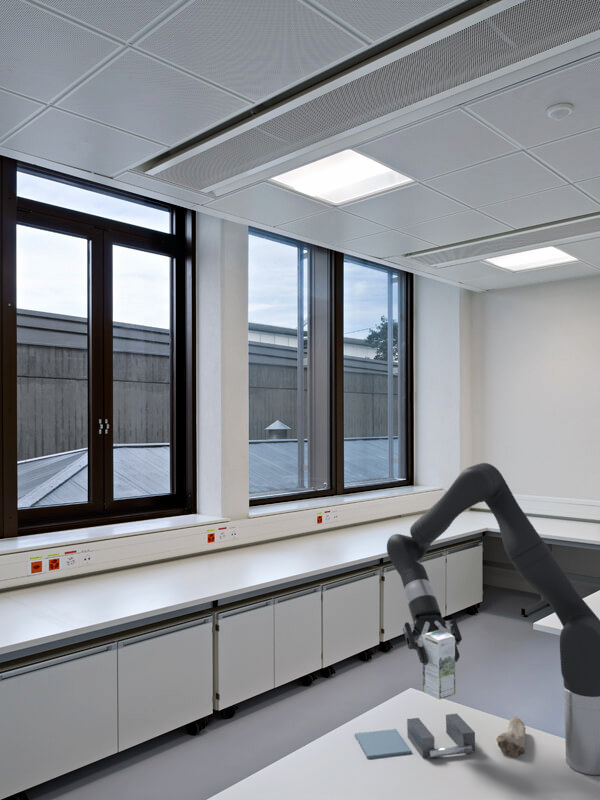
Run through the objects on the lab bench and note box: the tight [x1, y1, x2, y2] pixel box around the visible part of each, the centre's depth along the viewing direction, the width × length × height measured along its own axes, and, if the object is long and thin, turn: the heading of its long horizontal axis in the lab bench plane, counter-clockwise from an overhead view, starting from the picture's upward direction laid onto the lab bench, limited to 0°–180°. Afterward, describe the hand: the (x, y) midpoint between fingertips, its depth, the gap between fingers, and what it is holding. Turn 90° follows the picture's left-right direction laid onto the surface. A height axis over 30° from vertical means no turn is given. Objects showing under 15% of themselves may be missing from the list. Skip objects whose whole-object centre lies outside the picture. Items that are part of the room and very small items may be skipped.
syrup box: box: [422, 630, 456, 700], centre depth 156 cm, size 6×6×14 cm
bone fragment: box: [496, 716, 526, 758], centre depth 155 cm, size 14×6×5 cm, turn 148°
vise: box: [406, 713, 476, 759], centre depth 155 cm, size 13×12×4 cm
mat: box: [354, 728, 412, 760], centre depth 156 cm, size 11×11×1 cm
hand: (441, 662), depth 155 cm, fingers closed on syrup box, 7 cm apart
